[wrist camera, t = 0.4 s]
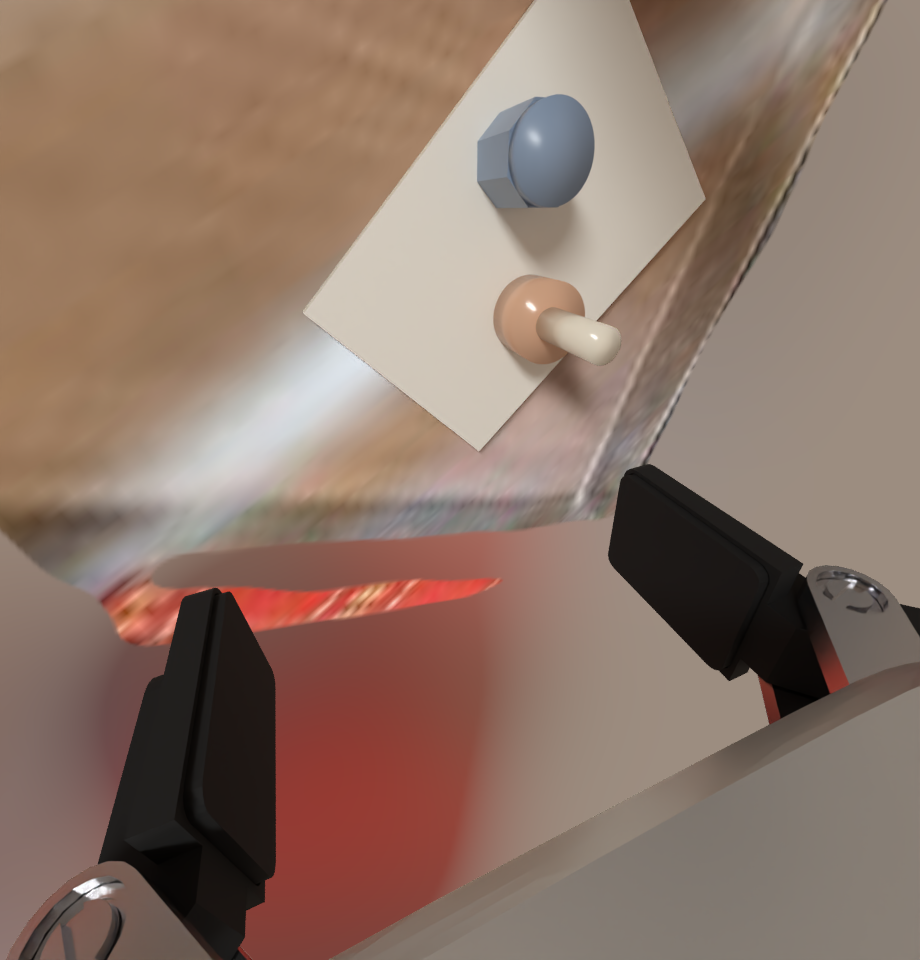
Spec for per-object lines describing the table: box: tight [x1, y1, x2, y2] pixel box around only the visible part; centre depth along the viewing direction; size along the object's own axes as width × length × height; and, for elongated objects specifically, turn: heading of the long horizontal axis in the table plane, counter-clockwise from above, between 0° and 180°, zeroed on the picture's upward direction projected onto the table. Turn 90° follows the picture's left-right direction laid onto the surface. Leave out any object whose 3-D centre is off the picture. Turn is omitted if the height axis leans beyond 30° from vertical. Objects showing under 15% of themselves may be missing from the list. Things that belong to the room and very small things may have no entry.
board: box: [303, 0, 706, 451], centre depth 35 cm, size 30×20×1 cm, turn 135°
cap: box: [477, 94, 595, 208], centre depth 28 cm, size 6×6×6 cm
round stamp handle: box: [493, 274, 621, 366], centre depth 33 cm, size 6×6×11 cm
